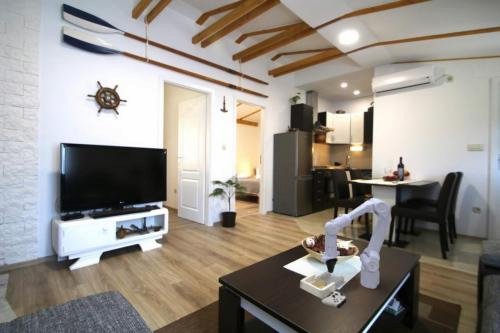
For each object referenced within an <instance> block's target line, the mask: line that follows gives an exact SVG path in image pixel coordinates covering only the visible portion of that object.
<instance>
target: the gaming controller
mask: <svg viewBox="0 0 500 333" xmlns="http://www.w3.org/2000/svg"><path fill="white" fill-rule="evenodd" d="M329 295H330V296H329ZM329 295H328V296H326V297H325V298H323V299H321V303H322V304H324V305H326V306H330V307H332V308H333V307H334V308H340V307H341V306H342V304H343V303H344V302H346V301H347V297H346V296H345V295H344V293H342V292H339V291H337V290H335V291H332V292H331V293H330V294H329Z"/></svg>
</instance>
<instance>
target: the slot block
mask: <svg viewBox="0 0 500 333" xmlns="http://www.w3.org/2000/svg"><path fill="white" fill-rule="evenodd" d="M331 274H332V273H330V272H328V270H327V271H326V270H325V271H324V272H323V273H320V275H318V276H315V281H317V280H318V279H322V280H324V281H326V282H327V285H329V284H330V283H332V282H334V283H335V291H337V290H338V289H339V288H341V287H342V286H344V285H345V284H347V281H345V277H344V276H343V275H340V276H339V277H335V276H333V275H331Z"/></svg>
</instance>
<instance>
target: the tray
mask: <svg viewBox="0 0 500 333" xmlns="http://www.w3.org/2000/svg"><path fill="white" fill-rule="evenodd" d="M315 279H316V274H315V273H312V274H310V275H307V276H306V277H304V278H302V279H301V280H300V281H299V288H300V289H302V290H303V291H306V292H307V293H309V294H311V295H313V296H315V297H317V298H319V299H320V300H323V299H324V298H326V297H328V296H329V295H331V294H332V293H331V292H332V291H336V290H335V283H334V282H332V283H330V284H329V285H327V286H326V287H324V288H322V289H320V288H318V287H316V286H314V285H312V283H314V282H315Z"/></svg>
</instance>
